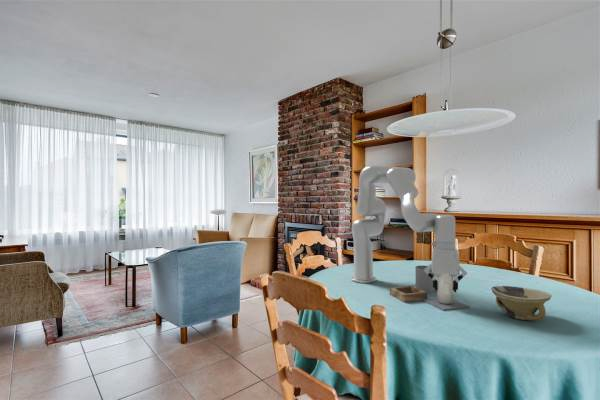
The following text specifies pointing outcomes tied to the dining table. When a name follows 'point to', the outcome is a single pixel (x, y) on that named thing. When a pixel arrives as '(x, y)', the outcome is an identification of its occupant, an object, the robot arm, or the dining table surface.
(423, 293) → the tray
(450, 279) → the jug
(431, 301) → the coaster
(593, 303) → the dining table surface
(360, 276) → the robot arm
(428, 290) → the cup
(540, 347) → the dining table surface
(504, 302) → the bowl
